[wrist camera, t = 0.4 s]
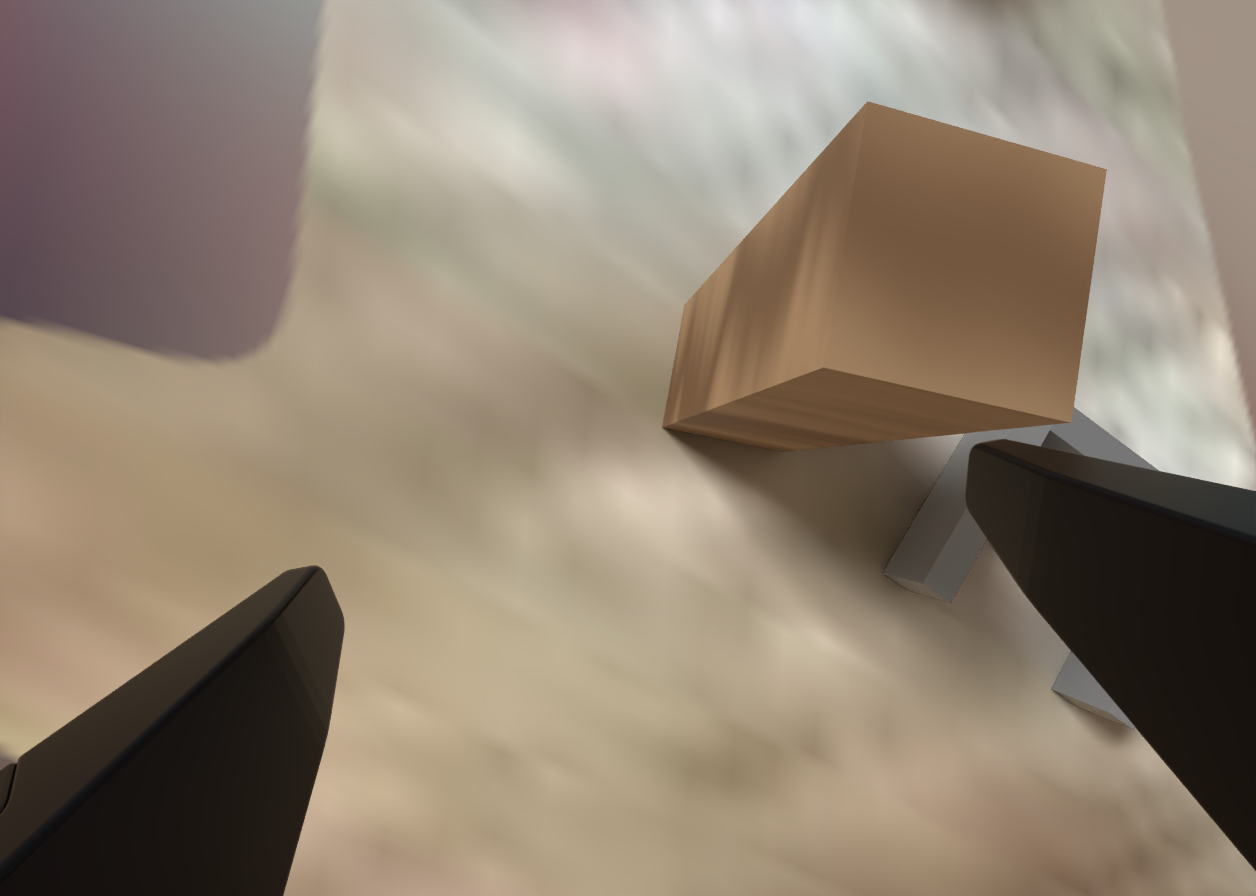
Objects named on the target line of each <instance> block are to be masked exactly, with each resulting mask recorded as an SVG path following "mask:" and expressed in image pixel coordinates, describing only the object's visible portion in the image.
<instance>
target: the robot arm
mask: <svg viewBox="0 0 1256 896" xmlns="http://www.w3.org/2000/svg"><path fill="white" fill-rule="evenodd" d="M965 502H966V506H967V509H968V511H969V513H970V515H971V516H972V518H973V519H974V521H975V522H976V524H977V525H978V527H979V528H980V529H981V531H982V532H983V534H984V535H985V537H986V538H987V540H988V541H989V543H990V544H991V546H992V547H993V549H994V550H995V552H996V553H997V555H998V556H999V558H1000V559H1001V561H1002V562H1003V564H1004V565H1005V567H1006V568H1007V570H1008V571H1009V573H1010V574H1011V576H1012V577H1013V579H1014V580H1015V582H1016V583H1017V584H1018V586H1019V587H1020V589H1021V590H1022V591H1023V593H1024V594H1025V595H1026V597H1027V598H1028V599H1029V601H1030V602H1031V603H1032V604H1033V606H1034V607H1035V608H1036V609H1037V611H1038V612H1039V613H1040V614H1041V616H1042V617H1043V618H1044V619H1045V620H1046V622H1047V623H1048V624H1049V625H1050V626H1051V627H1052V629H1053V630H1054V631H1055V632H1056V633H1057V635H1058V636H1059V637H1060V638H1061V639H1062V641H1063V642H1064V643H1065V644H1066V645H1067V647H1068V648H1069V649H1070V650H1071V651H1072V653H1073V654H1074V655H1075V656H1076V657H1077V658H1078V660H1079V661H1080V662H1081V663H1082V664H1083V666H1084V667H1085V668H1086V669H1087V670H1088V672H1089V673H1090V674H1091V675H1092V676H1093V678H1094V679H1095V680H1096V681H1097V682H1098V684H1099V685H1100V686H1101V687H1102V688H1103V690H1104V691H1105V692H1106V693H1107V694H1108V695H1109V697H1110V698H1111V699H1112V700H1113V701H1114V703H1115V704H1116V705H1117V706H1118V707H1119V709H1120V710H1121V711H1122V712H1123V713H1124V715H1125V716H1126V717H1127V718H1128V719H1129V721H1130V722H1131V723H1132V724H1133V725H1134V726H1135V728H1136V729H1137V730H1138V731H1139V732H1140V734H1141V735H1142V736H1143V737H1144V738H1145V740H1146V741H1147V742H1148V743H1149V744H1150V746H1151V747H1152V748H1153V749H1154V750H1155V752H1156V753H1157V754H1158V755H1159V756H1160V757H1161V759H1162V760H1163V761H1164V762H1165V763H1166V765H1167V766H1168V767H1169V768H1170V769H1171V771H1172V772H1173V773H1174V774H1175V775H1176V777H1177V778H1178V779H1179V780H1180V781H1181V783H1182V784H1183V785H1184V786H1185V787H1186V788H1187V790H1188V791H1189V792H1190V793H1191V794H1192V796H1193V797H1194V798H1195V799H1196V800H1197V802H1198V803H1199V804H1200V805H1201V806H1202V808H1203V809H1204V810H1205V811H1206V812H1207V814H1208V815H1209V816H1210V817H1211V818H1212V819H1213V821H1214V822H1215V823H1216V824H1217V825H1218V827H1219V828H1220V829H1221V830H1222V831H1223V833H1224V834H1225V835H1226V836H1227V837H1228V839H1229V840H1230V841H1231V842H1232V843H1233V845H1234V846H1235V847H1236V848H1237V849H1238V850H1239V852H1240V853H1241V854H1242V855H1243V856H1244V858H1245V859H1246V860H1247V861H1248V862H1249V864H1250V865H1251V866H1252V867H1253V868H1254V870H1255V871H1256V491H1252V490H1247V489H1242V488H1238V487H1233V486H1228V485H1223V484H1219V483H1214V482H1209V481H1204V480H1199V479H1195V478H1190V477H1185V476H1180V475H1175V474H1171V473H1166V472H1161V471H1156V470H1151V469H1147V468H1142V467H1137V466H1132V465H1127V464H1123V463H1118V462H1113V461H1108V460H1103V459H1099V458H1094V457H1089V456H1084V455H1079V454H1075V453H1070V452H1065V451H1060V450H1055V449H1051V448H1046V447H1041V446H1036V445H1032V444H1027V443H1022V442H1017V441H1012V440H1008V439H998V440H992V441H987V442H982V443H978V444H975V445H974V446H973V447H972V448H971V450H970V452H969V458H968V468H967V478H966V488H965ZM344 629H345V626H344V617H343V613H342V610H341V608H340V606H339V603H338V601H337V599H336V596H335V594H334V591H333V589H332V587H331V584H330V582H329V580H328V577H327V575H326V573H325V572H324V570H323V569H322V568H321V567H319V566H307V567H302V568H296V569H291V570H288V571H285V572H284V573H282V574H281V575H279V576H278V577H277V578H275V579H274V580H272V581H271V582H269V583H268V584H267V585H265V586H264V587H262V588H261V589H259V590H258V591H257V592H255V593H254V594H252V595H251V596H249V597H248V598H247V599H245V600H244V601H242V602H241V603H239V604H238V605H236V606H235V607H234V608H232V609H231V610H229V611H228V612H226V613H225V614H224V615H222V616H221V617H219V618H218V619H216V620H215V621H214V622H212V623H211V624H209V625H208V626H206V627H205V628H204V629H202V630H201V631H199V632H198V633H196V634H195V635H194V636H192V637H191V638H189V639H188V640H186V641H185V642H183V643H182V644H181V645H179V646H178V647H176V648H175V649H173V650H172V651H171V652H169V653H168V654H166V655H165V656H163V657H162V658H161V659H159V660H158V661H156V662H155V663H153V664H152V665H151V666H149V667H148V668H146V669H145V670H143V671H142V672H141V673H139V674H138V675H136V676H135V677H133V678H132V679H130V680H129V681H128V682H126V683H125V684H123V685H122V686H120V687H119V688H118V689H116V690H115V691H113V692H112V693H110V694H109V695H108V696H106V697H105V698H103V699H102V700H100V701H99V702H98V703H96V704H95V705H93V706H92V707H90V708H89V709H88V710H86V711H85V712H83V713H82V714H80V715H79V716H78V717H76V718H75V719H73V720H72V721H70V722H69V723H67V724H66V725H65V726H63V727H62V728H60V729H59V730H57V731H56V732H55V733H53V734H52V735H50V736H49V737H47V738H46V739H45V740H43V741H42V742H40V743H39V744H37V745H36V746H35V747H33V748H32V749H30V750H29V751H27V752H26V753H25V754H23V755H22V756H20V757H19V759H18V762H17V763H10V764H9V765H7V766H6V767H4V768H3V769H1V770H0V896H283V895H284V891H285V887H286V884H287V880H288V877H289V873H290V869H291V866H292V862H293V859H294V855H295V851H296V848H297V844H298V841H299V837H300V833H301V830H302V826H303V823H304V819H305V815H306V812H307V808H308V805H309V801H310V797H311V794H312V790H313V787H314V783H315V780H316V776H317V772H318V769H319V765H320V762H321V758H322V754H323V751H324V747H325V743H326V739H327V735H328V730H329V725H330V719H331V713H332V707H333V701H334V694H335V688H336V681H337V675H338V669H339V662H340V656H341V649H342V643H343V637H344Z"/></svg>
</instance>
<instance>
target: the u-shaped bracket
mask: <svg viewBox="0 0 1256 896" xmlns="http://www.w3.org/2000/svg"><path fill="white" fill-rule="evenodd" d="M998 439H1008V440H1012V441H1017V442H1022V443H1027V444H1032V445H1036V446H1041V447H1046V448H1051V449H1055V450H1060V451H1065V452H1070V453H1075V454H1079V455H1084V456H1089V457H1094V458H1099V459H1103V460H1108V461H1113V462H1118V463H1123V464H1127V465H1132V466H1137V467H1142V468H1147V469H1151V470H1156V471H1159V470H1157V469H1156V468H1155V467H1153V466H1152V465H1151V464H1149V463H1148V462H1147V461H1145V460H1144V459H1143V458H1141V457H1140V456H1139V455H1137V454H1136V453H1135V452H1133V451H1132V450H1131V449H1129V448H1128V447H1127V446H1125V445H1124V444H1122V443H1121V442H1120V441H1118V440H1117V439H1116V438H1114V437H1113V436H1112V435H1110V434H1109V433H1108V432H1106V431H1105V430H1104V429H1102V428H1101V427H1100V426H1098V425H1097V424H1096V423H1094V422H1093V421H1092V420H1090V419H1089V418H1088V417H1086V416H1085V415H1084V414H1082V413H1081V412H1080V411H1078V410H1077V409H1076V408H1074V407H1073V414H1072V422H1071V423H1063V424H1053V425H1043V426H1033V427H1023V428H1013V429H1003V430H993V431H983V432H973V433H965V434H964V436H963V438H962V439H961V441H960V443H959V445H958V446H957V448H956V450H955V451H954V453H953V455H952V456H951V458H950V460H949V461H948V463H947V465H946V466H945V468H944V470H943V472H942V473H941V475H940V477H939V478H938V480H937V482H936V483H935V485H934V487H933V488H932V490H931V492H930V494H929V495H928V497H927V499H926V500H925V502H924V504H923V505H922V507H921V509H920V510H919V512H918V514H917V515H916V517H915V519H914V521H913V522H912V524H911V526H910V527H909V529H908V531H907V532H906V534H905V536H904V537H903V539H902V541H901V543H900V544H899V546H898V548H897V549H896V551H895V553H894V554H893V556H892V558H891V559H890V561H889V563H888V564H887V566H886V568H885V570H884V571H883V573H884V574H885V575H887V576H888V577H890V578H891V579H892V580H894V581H895V582H897V583H898V584H900V585H901V586H903V587H904V588H906V589H907V590H909V591H912V592H916V593H919V594H922V595H925V596H929V597H932V598H935V599H939V600H942V601H945V602H949V603H951V601H952V600H953V598H954V596H955V594H956V593H957V591H958V589H959V587H960V586H961V584H962V582H963V580H964V579H965V577H966V575H967V573H968V572H969V570H970V568H971V566H972V565H973V563H974V561H975V559H976V558H977V556H978V554H979V552H980V551H981V549H982V547H983V546H984V544H985V542H986V540H987V538H986V537H985V535H984V534H983V532H982V531H981V529H980V528H979V527H978V525H977V524H976V522H975V521H974V519H973V518H972V516H971V515H970V513H969V511H968V509H967V506H966V502H965V488H966V478H967V468H968V458H969V452H970V450H971V448H972V447H973V446H974V445H975V444H978V443H982V442H987V441H992V440H998ZM1052 690H1054V691H1055V692H1057V693H1058V694H1060V695H1061V696H1062V697H1064V698H1065V699H1067V700H1068V701H1070V702H1071V703H1073V704H1074V705H1076V706H1078V707H1081V708H1083V709H1085V710H1088V711H1090V712H1092V713H1095V714H1097V715H1100V716H1102V717H1104V718H1107V719H1109V720H1111V721H1114V722H1116V723H1119V724H1121V725H1123V726H1126V727H1128V728H1130V729H1133V730H1135V726H1134V725H1133V724H1132V723H1131V722H1130V721H1129V719H1128V718H1127V717H1126V716H1125V715H1124V713H1123V712H1122V711H1121V710H1120V709H1119V707H1118V706H1117V705H1116V704H1115V703H1114V701H1113V700H1112V699H1111V698H1110V697H1109V695H1108V694H1107V693H1106V692H1105V691H1104V690H1103V688H1102V687H1101V686H1100V685H1099V684H1098V682H1097V681H1096V680H1095V679H1094V678H1093V676H1092V675H1091V674H1090V673H1089V672H1088V670H1087V669H1086V668H1085V667H1084V666H1083V664H1082V663H1081V662H1080V661H1079V660H1078V658H1077V657H1076V656H1075V655H1074V654H1073V653H1072V652H1071V654H1070V656H1069V657H1068V659H1067V661H1066V663H1065V665H1064V667H1063V669H1062V670H1061V672H1060V674H1059V676H1058V678H1057V680H1056V681H1055V683H1054V685H1053V687H1052Z"/></svg>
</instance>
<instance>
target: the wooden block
mask: <svg viewBox="0 0 1256 896" xmlns="http://www.w3.org/2000/svg"><path fill="white" fill-rule="evenodd" d="M1106 170H1107V169H1103V168H1100V167H1096V166H1093V165H1089V164H1086V163H1082V162H1079V161H1075V160H1072V159H1068V158H1065V157H1061V156H1058V155H1054V154H1051V153H1047V152H1044V151H1040V150H1037V149H1033V148H1030V147H1026V146H1023V145H1019V144H1015V143H1012V142H1008V141H1005V140H1001V139H998V138H994V137H991V136H987V135H984V134H980V133H977V132H973V131H970V130H966V129H963V128H959V127H956V126H952V125H949V124H945V123H942V122H938V121H935V120H931V119H928V118H924V117H921V116H917V115H913V114H910V113H906V112H903V111H899V110H896V109H892V108H889V107H885V106H882V105H878V104H875V103H871V102H867V103H866V104H865V105H864V106H863V107H862V108H861V109H860V110H859V112H858V113H857V114H856V115H855V116H854V117H853V118H852V119H851V120H850V122H849V123H848V124H847V125H846V126H845V127H844V128H843V129H842V130H841V132H840V133H839V134H838V135H837V136H836V137H835V138H834V139H833V141H832V142H831V143H830V144H829V145H828V146H827V147H826V148H825V149H824V151H823V152H822V153H821V154H820V155H819V156H818V157H817V158H816V159H815V161H814V162H813V163H812V164H811V165H810V166H809V167H808V168H807V169H806V171H805V172H804V173H803V174H802V175H801V176H800V177H799V178H798V179H797V181H796V182H795V183H794V184H793V185H792V186H791V187H790V188H789V189H788V191H787V192H786V193H785V194H784V195H783V196H782V197H781V198H780V199H779V201H778V202H777V203H776V204H775V205H774V206H773V207H772V208H771V209H770V211H769V212H768V213H767V214H766V215H765V216H764V217H763V218H762V219H761V221H760V222H759V223H758V224H757V225H756V226H755V227H754V228H753V229H752V231H751V232H750V233H749V234H748V235H747V236H746V237H745V238H744V239H743V241H742V242H741V243H740V244H739V245H738V246H737V247H736V248H735V249H734V251H733V252H732V253H731V254H730V255H729V256H728V257H727V258H726V259H725V261H724V262H723V263H722V264H721V265H720V266H719V267H718V268H717V269H716V271H715V272H714V273H713V274H712V275H711V276H710V277H709V278H708V280H707V281H706V282H705V283H704V284H703V285H702V286H701V287H700V288H699V290H698V291H697V292H696V293H695V294H694V295H693V296H692V297H691V298H690V300H689V301H688V302H687V303H686V304H685V306H684V311H683V317H682V322H681V328H680V333H679V339H678V344H677V350H676V355H675V360H674V366H673V371H672V377H671V382H670V388H669V393H668V399H667V404H666V410H665V415H664V420H663V426H662V427H663V428H668V429H673V430H678V431H683V432H687V433H692V434H697V435H702V436H707V437H712V438H717V439H722V440H727V441H732V442H737V443H742V444H747V445H752V446H757V447H762V448H767V449H771V450H776V451H781V452H782V451H792V450H802V449H812V448H822V447H832V446H842V445H852V444H862V443H872V442H882V441H893V440H903V439H913V438H923V437H933V436H943V435H953V434H963V433H973V432H983V431H993V430H1003V429H1013V428H1023V427H1033V426H1043V425H1053V424H1063V423H1071V422H1072V414H1073V407H1074V400H1075V393H1076V386H1077V379H1078V371H1079V364H1080V357H1081V350H1082V343H1083V335H1084V328H1085V321H1086V314H1087V307H1088V300H1089V292H1090V285H1091V278H1092V271H1093V264H1094V256H1095V249H1096V242H1097V235H1098V228H1099V221H1100V213H1101V206H1102V199H1103V192H1104V185H1105V177H1106Z"/></svg>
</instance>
